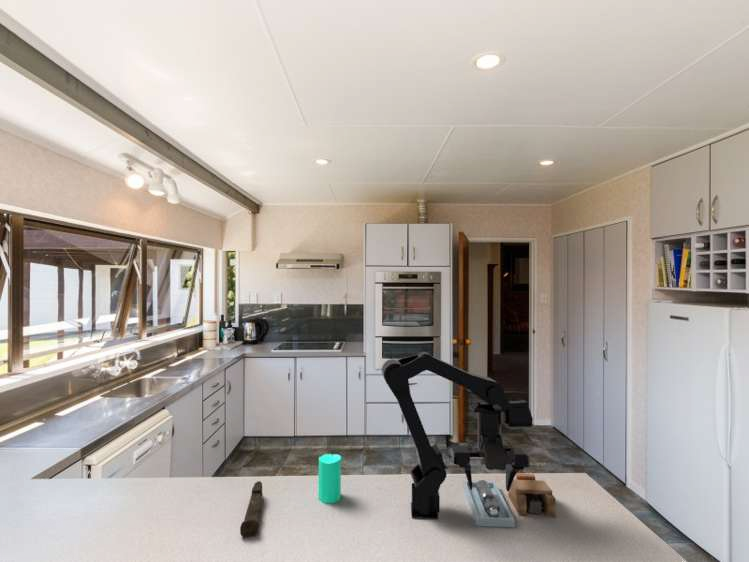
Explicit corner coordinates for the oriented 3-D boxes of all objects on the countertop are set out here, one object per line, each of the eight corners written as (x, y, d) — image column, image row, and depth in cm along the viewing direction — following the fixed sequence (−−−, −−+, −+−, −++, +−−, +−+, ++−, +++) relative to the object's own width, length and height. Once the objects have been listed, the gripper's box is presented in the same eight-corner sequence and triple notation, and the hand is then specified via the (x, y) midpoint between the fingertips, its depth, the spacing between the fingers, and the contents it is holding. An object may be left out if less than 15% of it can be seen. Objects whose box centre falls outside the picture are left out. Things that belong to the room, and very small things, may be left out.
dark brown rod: (258, 538, 88) (258, 517, 88) (239, 539, 87) (240, 518, 87) (269, 495, 106) (269, 477, 107) (254, 495, 106) (254, 478, 106)
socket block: (518, 515, 98) (518, 493, 98) (508, 496, 107) (508, 476, 107) (555, 516, 97) (555, 495, 97) (542, 497, 106) (542, 477, 106)
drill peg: (486, 521, 94) (487, 505, 94) (475, 492, 107) (476, 479, 107) (501, 522, 94) (502, 507, 94) (488, 494, 107) (489, 480, 107)
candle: (345, 495, 106) (345, 451, 106) (331, 505, 101) (331, 458, 101) (327, 489, 109) (328, 446, 110) (313, 499, 104) (314, 453, 104)
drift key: (525, 512, 98) (525, 489, 98) (515, 494, 107) (515, 473, 107) (545, 513, 98) (545, 490, 98) (533, 495, 107) (533, 474, 107)
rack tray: (476, 525, 93) (476, 518, 93) (463, 486, 111) (463, 480, 112) (514, 527, 92) (514, 520, 92) (495, 488, 111) (495, 482, 111)
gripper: (457, 438, 93) (457, 505, 92) (537, 441, 92) (537, 508, 91) (450, 423, 104) (450, 482, 104) (522, 425, 103) (522, 485, 102)
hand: (489, 489), depth 100 cm, fingers open, 9 cm apart
